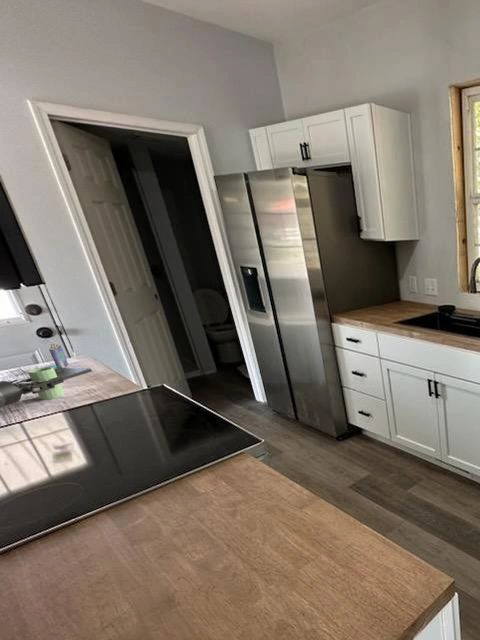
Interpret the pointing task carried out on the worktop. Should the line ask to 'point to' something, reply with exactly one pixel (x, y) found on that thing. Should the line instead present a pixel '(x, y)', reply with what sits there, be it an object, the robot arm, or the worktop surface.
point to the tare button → (52, 366)
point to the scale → (70, 372)
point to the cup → (43, 375)
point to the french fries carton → (58, 355)
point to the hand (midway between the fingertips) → (51, 378)
